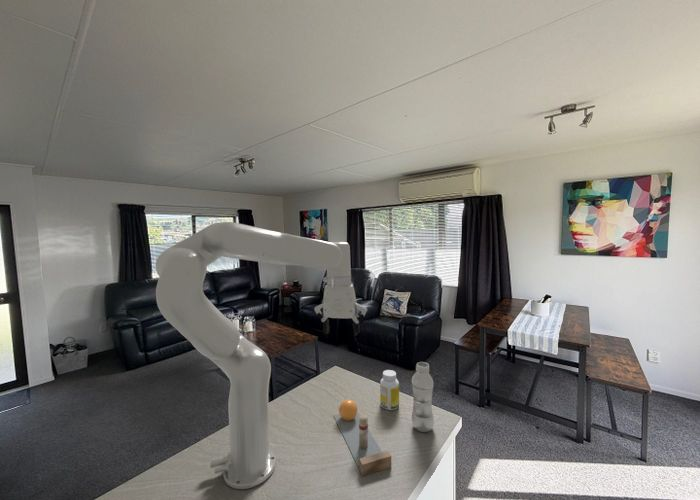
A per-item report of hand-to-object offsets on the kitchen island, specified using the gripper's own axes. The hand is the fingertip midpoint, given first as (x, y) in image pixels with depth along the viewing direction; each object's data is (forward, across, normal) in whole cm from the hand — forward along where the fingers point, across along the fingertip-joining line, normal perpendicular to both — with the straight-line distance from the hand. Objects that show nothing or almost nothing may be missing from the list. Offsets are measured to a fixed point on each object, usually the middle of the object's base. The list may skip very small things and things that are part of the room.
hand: (341, 333), depth 92 cm
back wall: (+28, +13, -19) cm, 36 cm away
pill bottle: (+29, +14, +9) cm, 33 cm away
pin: (+28, +9, -12) cm, 31 cm away
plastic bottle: (+29, +25, 0) cm, 38 cm away
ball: (+25, +2, -1) cm, 25 cm away
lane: (+28, +6, -8) cm, 29 cm away
